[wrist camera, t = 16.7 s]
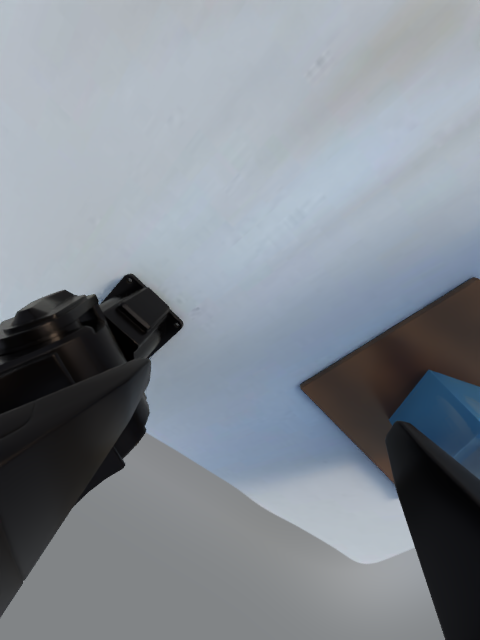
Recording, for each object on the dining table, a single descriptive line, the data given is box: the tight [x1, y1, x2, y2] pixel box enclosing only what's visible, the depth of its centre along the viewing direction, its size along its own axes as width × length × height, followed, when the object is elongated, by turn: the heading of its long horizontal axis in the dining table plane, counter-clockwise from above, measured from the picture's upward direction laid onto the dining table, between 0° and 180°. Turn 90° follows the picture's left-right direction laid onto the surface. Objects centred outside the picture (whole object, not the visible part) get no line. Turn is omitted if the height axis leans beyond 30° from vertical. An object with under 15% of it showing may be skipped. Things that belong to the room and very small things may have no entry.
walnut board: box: [300, 277, 480, 484], centre depth 23 cm, size 16×20×1 cm
